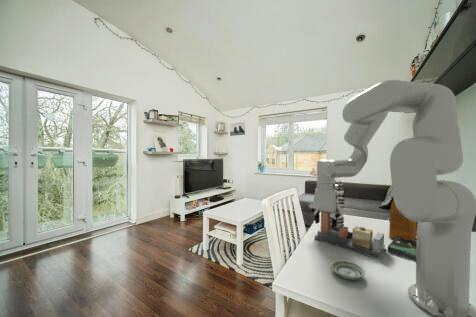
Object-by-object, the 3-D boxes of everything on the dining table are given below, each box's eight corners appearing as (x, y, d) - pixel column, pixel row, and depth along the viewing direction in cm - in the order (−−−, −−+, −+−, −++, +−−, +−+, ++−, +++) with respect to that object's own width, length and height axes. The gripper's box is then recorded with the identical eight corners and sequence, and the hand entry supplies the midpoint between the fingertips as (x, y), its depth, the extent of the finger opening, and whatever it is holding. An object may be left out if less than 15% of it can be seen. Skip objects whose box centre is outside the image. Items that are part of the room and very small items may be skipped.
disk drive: (395, 242, 88) (387, 253, 78) (396, 236, 88) (387, 245, 78) (428, 250, 80) (423, 263, 71) (428, 244, 80) (423, 256, 71)
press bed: (378, 258, 73) (378, 241, 73) (314, 238, 90) (314, 224, 90) (384, 248, 81) (384, 232, 81) (324, 232, 98) (324, 219, 98)
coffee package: (421, 238, 91) (422, 190, 90) (413, 245, 84) (414, 193, 83) (395, 231, 99) (395, 187, 98) (385, 237, 92) (385, 189, 91)
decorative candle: (348, 233, 96) (349, 181, 96) (329, 233, 96) (329, 182, 96) (339, 226, 105) (339, 179, 105) (321, 226, 105) (321, 179, 105)
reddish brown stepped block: (342, 241, 84) (342, 217, 84) (318, 234, 91) (319, 212, 91) (348, 236, 89) (348, 213, 89) (325, 230, 96) (325, 209, 96)
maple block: (369, 248, 78) (369, 231, 78) (352, 243, 82) (352, 227, 82) (372, 244, 81) (372, 227, 81) (356, 239, 86) (356, 224, 86)
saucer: (334, 263, 71) (334, 256, 71) (366, 273, 65) (366, 266, 65) (326, 276, 63) (326, 268, 63) (362, 289, 57) (362, 281, 57)
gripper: (349, 187, 88) (348, 227, 89) (311, 183, 101) (311, 218, 101) (343, 190, 83) (342, 232, 84) (304, 185, 96) (303, 222, 96)
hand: (325, 224), depth 92 cm, fingers open, 6 cm apart
